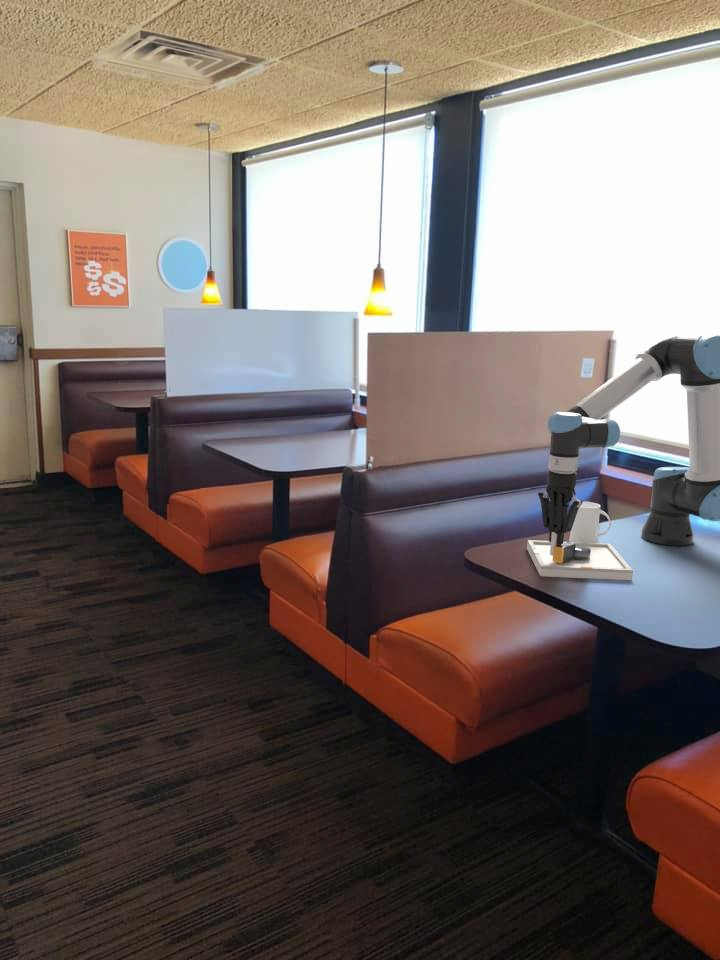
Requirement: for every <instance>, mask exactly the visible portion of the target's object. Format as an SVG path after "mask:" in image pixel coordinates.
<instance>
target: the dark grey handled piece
mask: <svg viewBox="0 0 720 960" xmlns="http://www.w3.org/2000/svg"><path fill="white" fill-rule="evenodd" d="M563 542H564V543H563V544H561V545H555V546H554V549H553V562H556V563H560V564H562V563H564V562H567V561H570V560H573V559H588V558H590V554H591V549H590V548H588V547H586V546H582V545H576V544H575V543H572V542H570V541H569V540H568V541H563Z"/></svg>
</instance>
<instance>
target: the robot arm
mask: <svg viewBox="0 0 720 960" xmlns="http://www.w3.org/2000/svg"><path fill="white" fill-rule="evenodd" d="M674 374H675V375H676V374H677V375H680V377H679V378H680V385H681V386H682V387H683V388H684V389H685V390H686V400H687V401H686V402H687V404H686V405H687V407H686V408H687V424H688V425H687V428H688V429H687V430H688V433H687V434H688V453H689V454H688V455H689V458H688V459H689V467H685V466H663V467H658V468H656V469H655V471H654V473H653V478H652V484H651V496H650V507H649V513H648V516H647V518H646V520H645V522H644V525H643V526H642V528H641V538H642V539H643V540H645V541H648V542H651V543H654V544H658V545H663V546H671V547H672V546H673V547H675V546H676V547H679V546H681V547H683V546H689V545H691V544H693V541H694V533H693V528H692V524H691V518H690V516H691V515H692V516H695V517H697V518H701V519H702V520H705V521H707V520H708V521H712V522H720V334H719V335H718V334H716V335H715V334H711V333H686V332H677V333H673V334H669V335H667V336H665V337H662V338H660V339H659V340H657V341H655V342H653V343H652V344H651V345H648V346H647V347H645V348H643V350H642V351H641V352H639V353H638V354H637V355H636V357H635V360H634V361H633V362H632V363H630V364H629V365H628V366H626V367H624V368H623V369H622V370H620V371H619V372H618V373H617V374H615V375H614V376H613V377H611V378H610V379H609V380H607V381H606V382H605V383H603V384H601V385H600V386H599V387H598V388H597V389H595V390H594V391H593V392H591V393H590V394H588V395H587V396H585V398H582V400H580V401H579V402H578V403H576V404H575V405H574V406H572V407H571V408H570V409H568V410H567V411H557V412H554V413H552V415H550V416H549V419H548V421H547V429H548V432H549V433H550V444H549V458H548V467H547V468H548V469H549V470H548V471H547V478H546V483H547V486H546V487H545V489H544V490H543V491H539V492H538V493H537V496H538V498H539V501H540V506H541V515H542V522H543V523H542V525H543V527H544V528H547V529H548V531H549V535H548V541H549V542H551V547H550V555H552V556H553V549H554V546H555V545H561V544H563V542H564V539H565V533H566V534H567V533H569V532H570V533H571V529H572V526H573V524H574V521H575V518H576V515H577V512H578V509H579V507H580V506H581V505H582V503H583V500H582V499H579V498H578V497H577V495H576V490H575V487H576V485H577V478H578V477H577V475H578V474H577V471H578V467H579V465H578V464H579V456H580V455H579V454H580V449H590V448H591V449H598V448H600V449H601V448H602V449H606V448H609V447H614V446H615V445H617V444H618V442H619V440H620V438H621V428H620V425H619V423H618V422H617V421H615V420H613V419H607V418H604V417H605V416H607V415H608V414H609V413H610V412H612V411H613V410H614V409H616V408H617V407H619V406H620V405H621V404H623V402H625V401H626V400H627V399H629V398H630V397H633V395H634V394H636V393H637V392H639V391H640V390H641V389H643V388H644V387H645V386H647V385H648V384H649V383H651V382H658V381H660V380H661V379H662V378H664V377H665V376H669V375H674ZM602 418H603V419H602ZM568 508H569V509H568Z"/></svg>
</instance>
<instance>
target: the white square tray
mask: <svg viewBox="0 0 720 960" xmlns="http://www.w3.org/2000/svg"><path fill="white" fill-rule="evenodd" d="M564 542H565V541H563V543H564ZM526 543H527V544H526V545H527V546H526V549H527V552H528V554H529V557H530V558H531V560H532V562H533V564H534V566H535V568H536V570H537V573H538V574H539V576H540V577H546V578H547V577H551V578H570V579H571V578H574V579H591V580H592V579H595V580H611V581H612V580H613V581H614V580H615V581H616V580H617V581H618V580H620V581H633V577H634V576H633V575H634V574H633V573H634V570H633V568H632V567H631V566H630V565H629V564H628V563H627V561H626V560H625V559H624V558H623V557H622V555H620V554H619V552H618V551H617V550H616V549H615V548H614V546H613V545H612V544H611V543H605V542H598V543H586V542H572V543H575V544H576V545H582V546H586V547H588V548H590V549H591V554H590V558H588V559H573V560H570V561H567V562H564V563H562V564H560V563H556V562H553V556H552V555H550V547H551V542H549V540H540V539H539V540H538V539H537V540H535V539H533V540H532V539H527V542H526Z"/></svg>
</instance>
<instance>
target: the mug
mask: <svg viewBox="0 0 720 960" xmlns="http://www.w3.org/2000/svg"><path fill="white" fill-rule="evenodd" d="M582 501H583V500H582ZM600 515H603V516H605V517H606V518H607V521H608V527H607V529H606V530H604V531H602V532H599V525H600ZM611 522H612V521H611V518H610V516H609V515H608V513H606V512H605V511H604V510H602V509H601V504H599V503H597V502H592V501H586V500H585V501H583V503H582V505H581V506H580V507H579V509H578V512H577V515H576V518H575V521H574V524H573V526H572V529H571V531H570V535H569V538H568V542H586V543H599V540H598V537H600V536H603V535H605V534H607V533H608V532H609V530H610V528H611V525H612V523H611Z"/></svg>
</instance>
